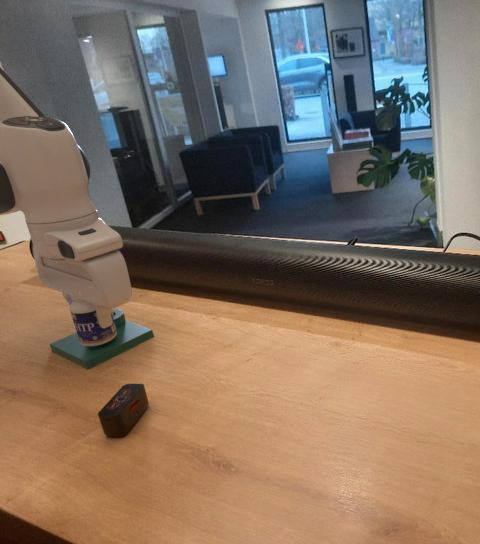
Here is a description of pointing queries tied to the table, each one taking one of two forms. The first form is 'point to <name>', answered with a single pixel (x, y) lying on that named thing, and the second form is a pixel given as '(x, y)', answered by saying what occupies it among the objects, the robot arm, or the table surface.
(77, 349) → the scale
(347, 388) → the table surface
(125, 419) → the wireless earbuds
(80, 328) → the pill bottle
